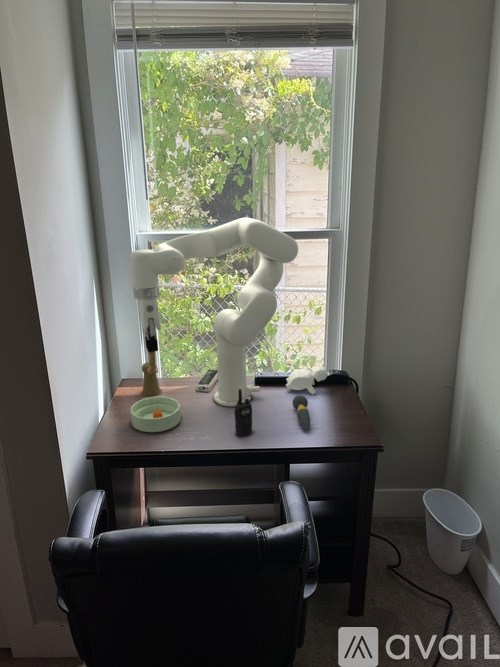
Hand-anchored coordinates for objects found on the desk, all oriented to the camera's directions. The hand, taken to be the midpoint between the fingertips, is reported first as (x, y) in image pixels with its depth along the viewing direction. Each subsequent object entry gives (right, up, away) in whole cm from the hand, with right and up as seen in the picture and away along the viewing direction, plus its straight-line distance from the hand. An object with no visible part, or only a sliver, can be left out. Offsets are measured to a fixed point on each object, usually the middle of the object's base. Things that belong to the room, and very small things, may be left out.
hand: (152, 349), depth 158 cm
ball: (+1, -21, +3) cm, 21 cm away
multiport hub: (+15, -14, +30) cm, 37 cm away
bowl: (+1, -23, +4) cm, 23 cm away
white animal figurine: (+50, -15, +25) cm, 58 cm away
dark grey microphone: (+47, -22, +5) cm, 52 cm away
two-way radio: (+28, -25, -3) cm, 38 cm away
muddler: (0, -7, +2) cm, 8 cm away
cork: (-5, -16, +24) cm, 29 cm away
